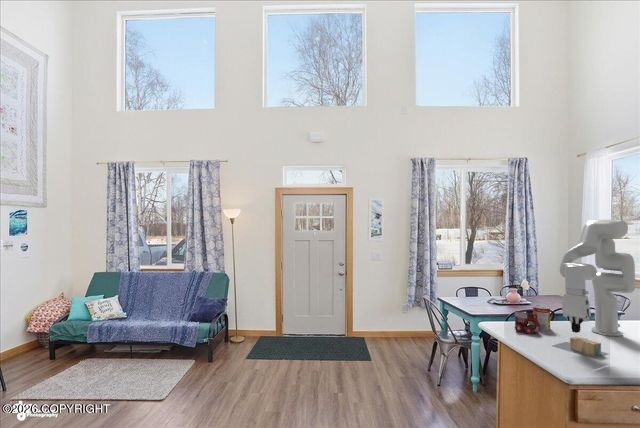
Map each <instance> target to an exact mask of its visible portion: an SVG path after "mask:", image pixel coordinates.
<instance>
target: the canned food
mask: <svg viewBox="0 0 640 428" xmlns="http://www.w3.org/2000/svg"><path fill="white" fill-rule="evenodd" d="M532 308H533V309H532V314H534V317H535V318H537V320H538V322H539V324H540V332H541V331H550V330H551V307H550V306H546V305H541V304H539V305H538V304H536V305H533V306H532Z"/></svg>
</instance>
